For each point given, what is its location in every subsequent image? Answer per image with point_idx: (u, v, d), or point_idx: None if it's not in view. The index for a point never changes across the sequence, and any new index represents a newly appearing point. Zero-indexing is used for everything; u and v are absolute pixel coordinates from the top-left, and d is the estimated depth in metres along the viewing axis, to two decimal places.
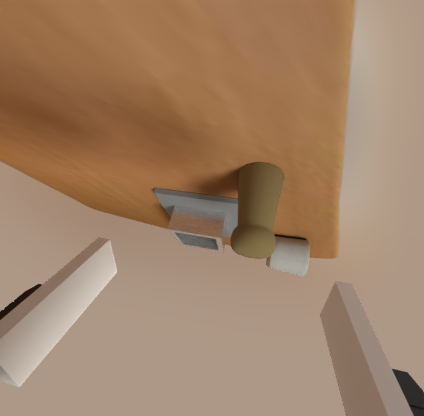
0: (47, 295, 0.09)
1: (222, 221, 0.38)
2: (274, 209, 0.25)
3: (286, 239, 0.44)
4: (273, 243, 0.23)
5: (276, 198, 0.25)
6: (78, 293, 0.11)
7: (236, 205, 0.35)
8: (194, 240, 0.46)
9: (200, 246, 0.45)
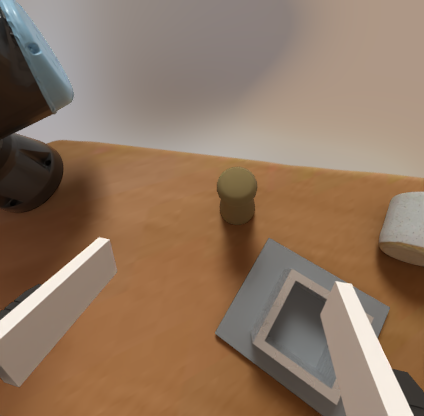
0: (47, 295, 0.09)
1: (285, 270, 0.29)
2: None
3: None
4: None
5: None
6: (78, 293, 0.11)
7: (269, 245, 0.32)
8: None
9: None
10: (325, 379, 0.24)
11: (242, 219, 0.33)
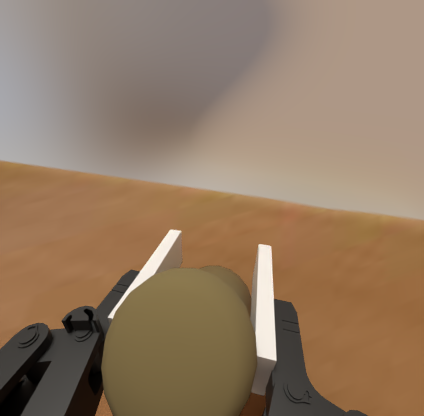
0: None
1: None
2: None
3: None
4: (183, 268, 0.08)
5: (206, 271, 0.13)
6: None
7: None
8: None
9: None
10: None
11: None
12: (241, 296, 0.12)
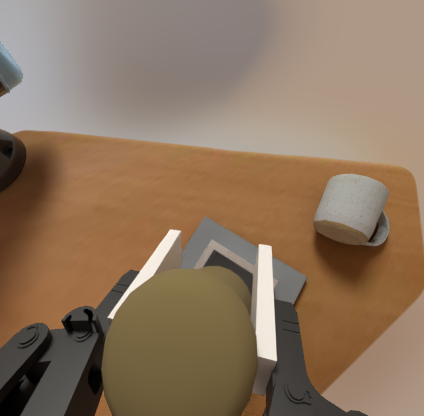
0: None
1: None
2: None
3: None
4: (183, 269, 0.08)
5: (206, 271, 0.13)
6: None
7: (204, 223, 0.35)
8: None
9: None
10: None
11: None
12: (241, 296, 0.12)
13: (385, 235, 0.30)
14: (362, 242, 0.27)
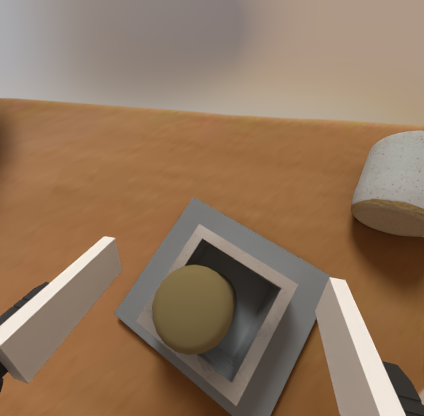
0: (55, 293, 0.09)
1: None
2: None
3: None
4: (189, 265, 0.14)
5: None
6: (85, 291, 0.11)
7: (192, 206, 0.26)
8: (246, 348, 0.17)
9: (257, 334, 0.17)
10: (233, 370, 0.17)
11: None
12: None
13: None
14: None
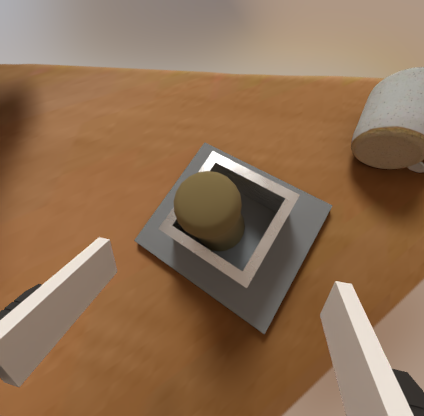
0: (47, 295, 0.09)
1: None
2: None
3: None
4: None
5: None
6: (78, 293, 0.11)
7: (203, 150, 0.28)
8: None
9: (264, 235, 0.19)
10: (243, 270, 0.20)
11: (227, 245, 0.22)
12: None
13: None
14: (423, 155, 0.21)
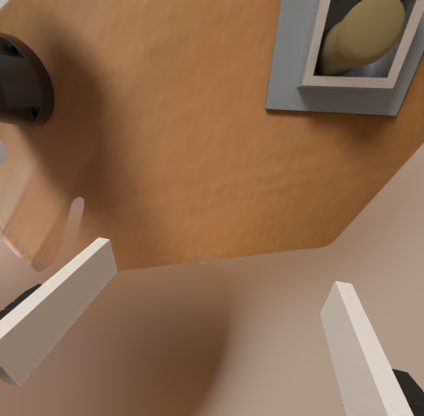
0: (47, 295, 0.09)
1: None
2: None
3: None
4: (359, 2, 0.18)
5: (339, 23, 0.23)
6: (78, 293, 0.11)
7: None
8: (390, 55, 0.24)
9: (403, 34, 0.22)
10: (380, 77, 0.25)
11: None
12: None
13: None
14: None
